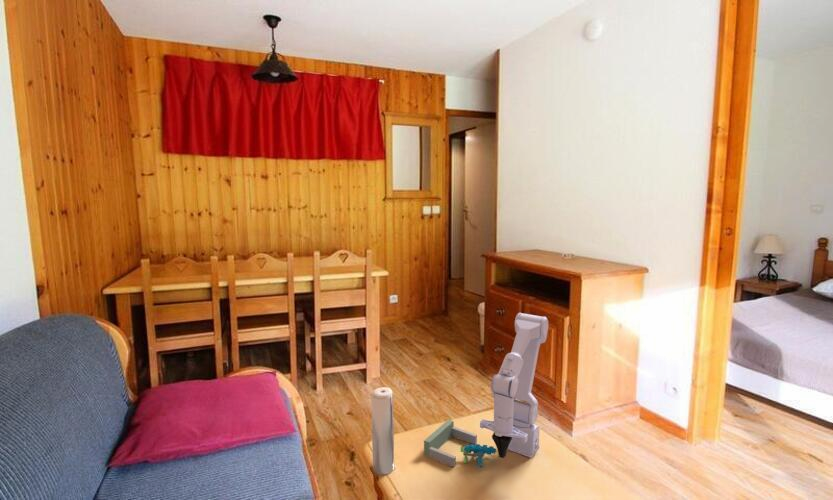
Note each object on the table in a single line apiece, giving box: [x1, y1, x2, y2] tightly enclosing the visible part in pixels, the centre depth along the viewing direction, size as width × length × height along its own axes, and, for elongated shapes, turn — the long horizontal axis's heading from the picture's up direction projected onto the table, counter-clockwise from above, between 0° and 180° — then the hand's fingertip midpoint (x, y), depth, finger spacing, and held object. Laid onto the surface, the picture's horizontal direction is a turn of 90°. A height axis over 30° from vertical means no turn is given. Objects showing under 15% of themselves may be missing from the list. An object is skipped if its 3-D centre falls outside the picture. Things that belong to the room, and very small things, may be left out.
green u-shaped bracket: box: [423, 419, 478, 468], centre depth 138 cm, size 11×15×5 cm
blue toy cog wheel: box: [460, 443, 497, 468], centre depth 131 cm, size 11×6×10 cm
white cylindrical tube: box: [370, 386, 395, 476], centre depth 127 cm, size 6×6×25 cm
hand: (502, 456), depth 128 cm, fingers closed
